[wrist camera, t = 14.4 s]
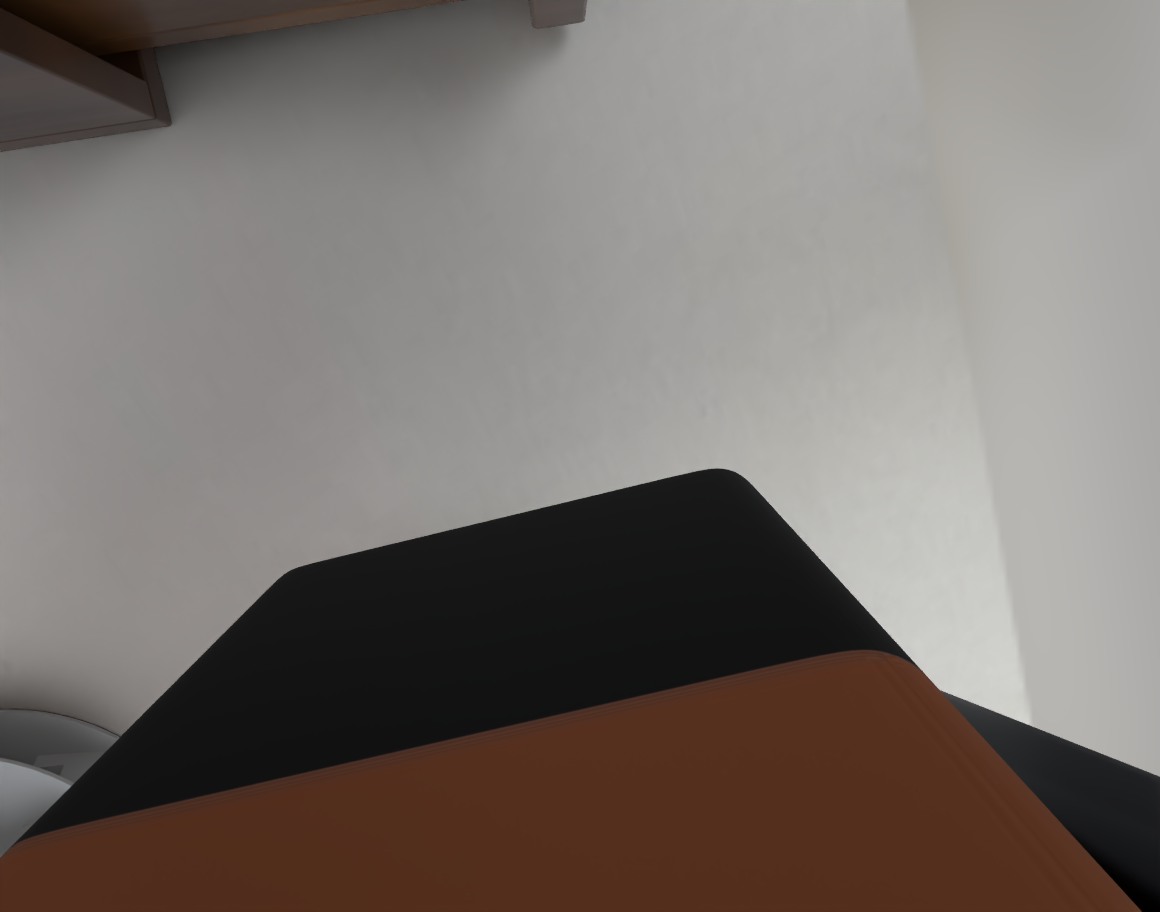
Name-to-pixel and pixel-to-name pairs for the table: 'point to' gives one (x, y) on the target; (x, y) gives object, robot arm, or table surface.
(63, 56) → the cabinet
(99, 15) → the drawer
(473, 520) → the table surface
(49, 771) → the zipper pull
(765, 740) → the battery
